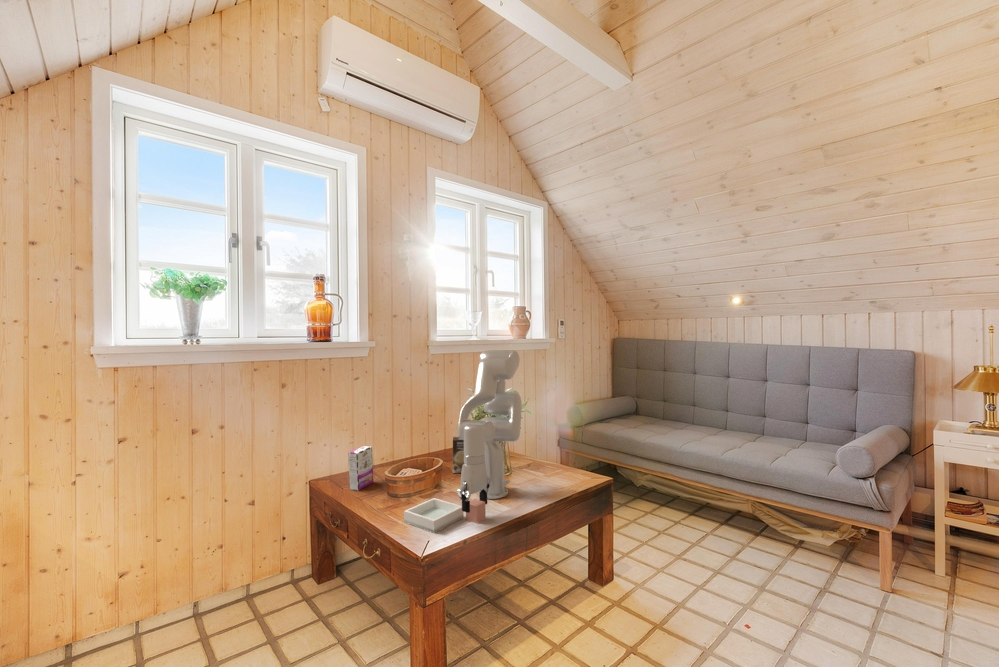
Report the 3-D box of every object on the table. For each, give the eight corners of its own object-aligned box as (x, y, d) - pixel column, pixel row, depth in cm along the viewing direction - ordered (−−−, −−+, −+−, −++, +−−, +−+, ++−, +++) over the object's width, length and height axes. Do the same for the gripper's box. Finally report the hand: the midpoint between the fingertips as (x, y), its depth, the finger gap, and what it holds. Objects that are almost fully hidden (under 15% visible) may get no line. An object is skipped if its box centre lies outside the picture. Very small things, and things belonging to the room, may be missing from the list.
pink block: (474, 515, 164) (474, 499, 164) (485, 518, 161) (485, 501, 161) (466, 520, 160) (465, 503, 160) (476, 523, 157) (476, 506, 157)
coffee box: (452, 474, 212) (451, 440, 212) (453, 469, 218) (452, 437, 218) (471, 473, 212) (471, 439, 212) (472, 469, 219) (471, 436, 218)
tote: (434, 508, 171) (433, 497, 171) (463, 517, 162) (463, 506, 162) (404, 522, 159) (403, 511, 159) (434, 533, 150) (433, 521, 150)
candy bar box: (364, 481, 204) (363, 445, 204) (373, 482, 202) (372, 446, 202) (348, 490, 193) (347, 452, 193) (358, 491, 191) (357, 452, 191)
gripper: (481, 453, 170) (481, 498, 169) (450, 463, 156) (450, 512, 155) (497, 455, 165) (497, 502, 165) (466, 466, 151) (466, 517, 151)
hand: (474, 507), depth 160 cm, fingers open, 9 cm apart
